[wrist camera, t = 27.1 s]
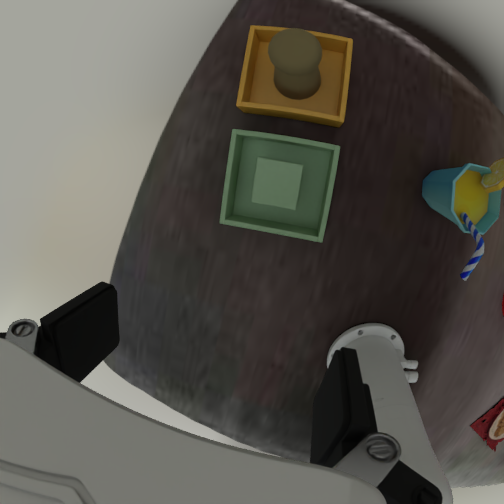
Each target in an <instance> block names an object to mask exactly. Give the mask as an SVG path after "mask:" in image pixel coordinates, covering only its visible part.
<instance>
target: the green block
mask: <svg viewBox="0 0 504 504" xmlns="http://www.w3.org/2000/svg"><path fill="white" fill-rule="evenodd" d="M302 171H303V165H301V164H295V163H290V162H284V161H278V160H272V159H265V158H259V157H258V158H257V165H256V171H255V178H254V185H253V191H252V198H251V202H254V203H260V204H266V205H271V206H277V207H282V208H288V209H293V210H296V206H297V200H298V195H299V189H300V183H301V177H302Z"/></svg>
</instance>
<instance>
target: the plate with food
mask: <svg viewBox="0 0 504 504" xmlns="http://www.w3.org/2000/svg"><path fill="white" fill-rule="evenodd" d="M485 419H487V420H486V421H485V422H484V423H482V421H483V420H485ZM471 427H472V428H473V429H474V431H476V432H477V434H479V435H480V436H481V438H482V439H483V441H485V440H487V445H489V447H490V448H491V449H492V450H493V448H494V451H496V445H497V444H498V442H501V441H502V440H503V439H504V399H502V400H501V401H500V402H499V403H498V404H497V405H496V406H495V407H494V408H493V409H490V410H489V412H487V413H486V414H485V415H484V417H481V418H480V419H478V420H477V421H476V422H474V423H473V424H472V425H471Z"/></svg>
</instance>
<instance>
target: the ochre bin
mask: <svg viewBox="0 0 504 504" xmlns="http://www.w3.org/2000/svg"><path fill="white" fill-rule="evenodd" d="M284 29H289V28H281V27H269V26H252V25H251V26H250V31H249V36H248V42H247V47H246V52H245V58H244V63H243V69H242V74H241V80H240V86H239V92H238V98H237V104H236V106H237V107H238V108H239V109H240V110H242V111H243V112H244V113H251V114H260V115H268V116H275V117H282V118H289V119H295V120H301V121H307V122H313V123H318V124H323V125H328V126H333V127H338V128H339V127H340V126H341V125H342V124H343V123H344V118H345V111H346V103H347V95H348V86H349V77H350V67H351V57H352V45H353V39H350V38H346V37H341V36H336V35H331V34H325V33H320V32H313V31H308V32H310V33H311V34H313V35H314V36H315V37H316V38H317V39H318V41H319V42H320V45H321V48H322V59H321V61H320V63H319V65H318V67H319V71H320V75H321V85H320V87H319V90H318V91H317V92H316V93H315V94H314V95H313V96H311V97H309V98H307V99H302V100H294V99H290V98H287V97H285V96H284V95H282V94H281V93H280V92H279V91H278V90H277V88H276V87H275V84H274V81H273V80H274V68H275V66H274V65H273V64H272V62H271V61H270V58H269V55H268V45H269V43H270V41H271V39H272V37H273V36H274V35H275V34H276V33H278V32H280V31H282V30H284ZM306 31H307V30H306Z"/></svg>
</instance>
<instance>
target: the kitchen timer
mask: <svg viewBox="0 0 504 504" xmlns="http://www.w3.org/2000/svg"><path fill="white" fill-rule="evenodd" d="M502 311H503V316H504V295H503V302H502Z"/></svg>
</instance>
